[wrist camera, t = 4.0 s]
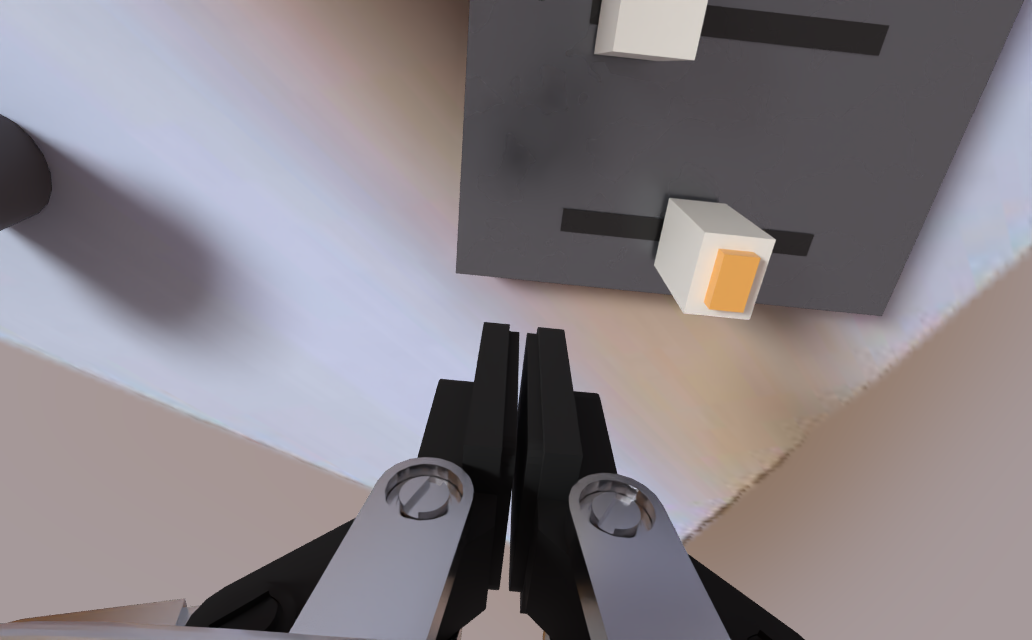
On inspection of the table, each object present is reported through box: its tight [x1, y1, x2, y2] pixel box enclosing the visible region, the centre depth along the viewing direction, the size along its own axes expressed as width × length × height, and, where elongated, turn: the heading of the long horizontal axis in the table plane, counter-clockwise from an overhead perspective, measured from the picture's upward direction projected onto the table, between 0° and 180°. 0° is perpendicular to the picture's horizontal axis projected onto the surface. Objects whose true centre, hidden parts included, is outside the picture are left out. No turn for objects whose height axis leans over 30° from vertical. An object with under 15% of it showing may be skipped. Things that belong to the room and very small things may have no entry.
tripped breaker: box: [654, 198, 776, 320], centre depth 20 cm, size 2×3×6 cm
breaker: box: [594, 0, 708, 61], centre depth 17 cm, size 2×3×5 cm
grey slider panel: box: [456, 0, 1024, 316], centre depth 21 cm, size 20×22×3 cm
